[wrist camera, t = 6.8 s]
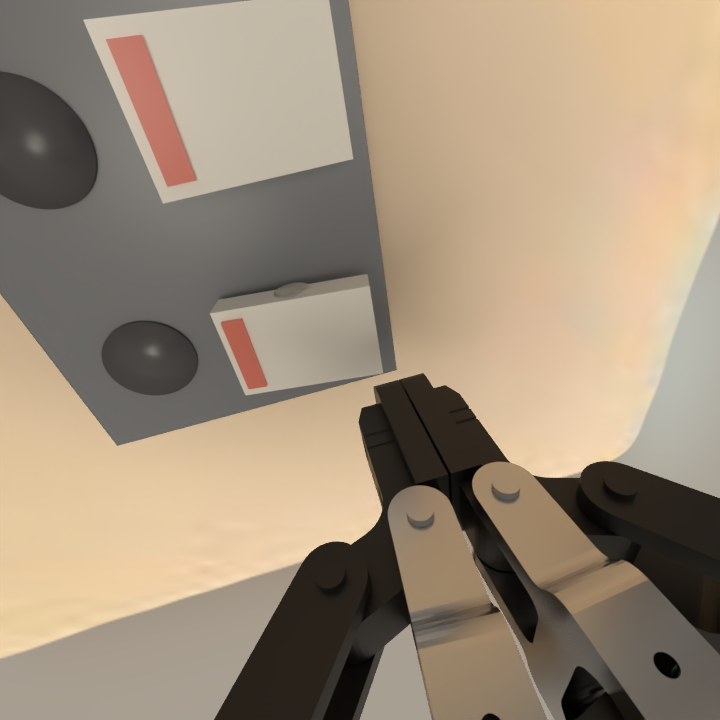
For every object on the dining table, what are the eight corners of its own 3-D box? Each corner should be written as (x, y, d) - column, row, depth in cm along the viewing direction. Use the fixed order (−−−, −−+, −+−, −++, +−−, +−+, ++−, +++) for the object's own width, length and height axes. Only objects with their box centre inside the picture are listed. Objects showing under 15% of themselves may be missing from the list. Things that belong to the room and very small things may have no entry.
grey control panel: (139, 395, 21) (116, 448, 18) (-438, -497, 8) (-1020, -1014, 4) (376, 333, 22) (397, 371, 19) (242, -517, 9) (231, -919, 6)
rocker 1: (164, 196, 12) (162, 204, 11) (95, 35, 10) (81, 18, 8) (336, 157, 13) (355, 159, 12) (310, 7, 11) (329, -11, 10)
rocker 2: (252, 373, 17) (244, 397, 16) (220, 295, 15) (208, 315, 14) (379, 352, 17) (383, 375, 16) (366, 270, 15) (370, 287, 13)
